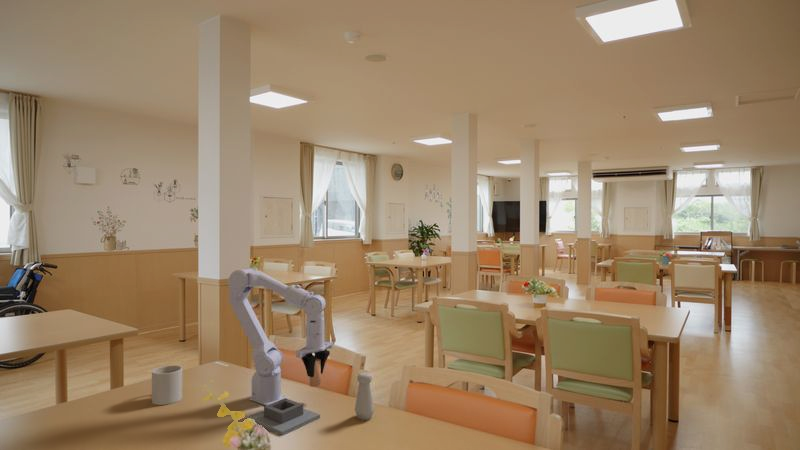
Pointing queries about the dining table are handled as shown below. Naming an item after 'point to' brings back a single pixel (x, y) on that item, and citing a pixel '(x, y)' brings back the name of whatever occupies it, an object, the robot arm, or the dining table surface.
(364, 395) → the salt shaker
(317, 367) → the peg
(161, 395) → the grey cup
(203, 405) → the dining table surface
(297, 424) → the socket board
